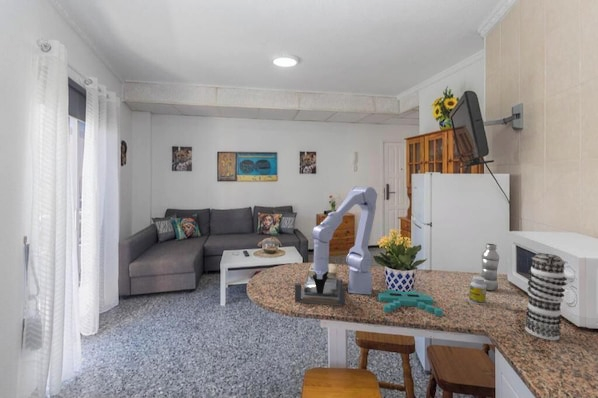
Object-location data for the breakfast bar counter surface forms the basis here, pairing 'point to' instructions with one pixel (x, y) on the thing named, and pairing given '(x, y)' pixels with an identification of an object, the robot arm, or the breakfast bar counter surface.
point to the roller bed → (320, 299)
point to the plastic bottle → (490, 267)
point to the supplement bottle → (477, 290)
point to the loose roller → (327, 291)
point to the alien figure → (407, 301)
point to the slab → (331, 273)
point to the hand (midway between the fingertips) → (320, 290)
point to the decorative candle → (545, 296)
